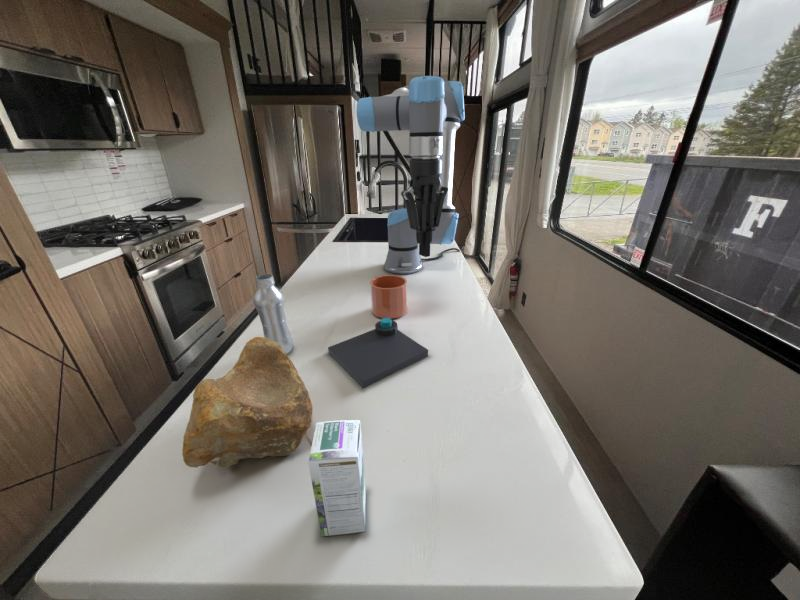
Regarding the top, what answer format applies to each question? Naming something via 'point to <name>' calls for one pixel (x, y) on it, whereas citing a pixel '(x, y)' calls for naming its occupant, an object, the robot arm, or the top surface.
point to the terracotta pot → (389, 296)
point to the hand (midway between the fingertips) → (424, 255)
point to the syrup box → (338, 477)
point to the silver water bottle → (272, 312)
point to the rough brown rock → (248, 410)
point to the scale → (377, 354)
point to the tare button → (386, 323)
